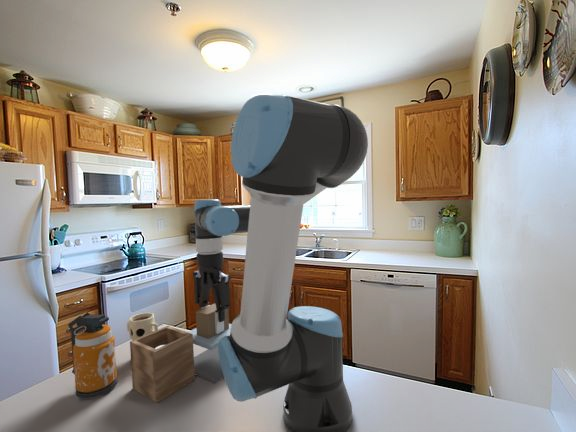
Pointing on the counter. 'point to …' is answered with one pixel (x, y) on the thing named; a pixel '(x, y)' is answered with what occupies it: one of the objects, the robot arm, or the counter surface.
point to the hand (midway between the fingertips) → (213, 329)
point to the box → (162, 362)
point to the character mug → (141, 325)
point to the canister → (93, 356)
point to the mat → (208, 365)
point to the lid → (209, 328)
